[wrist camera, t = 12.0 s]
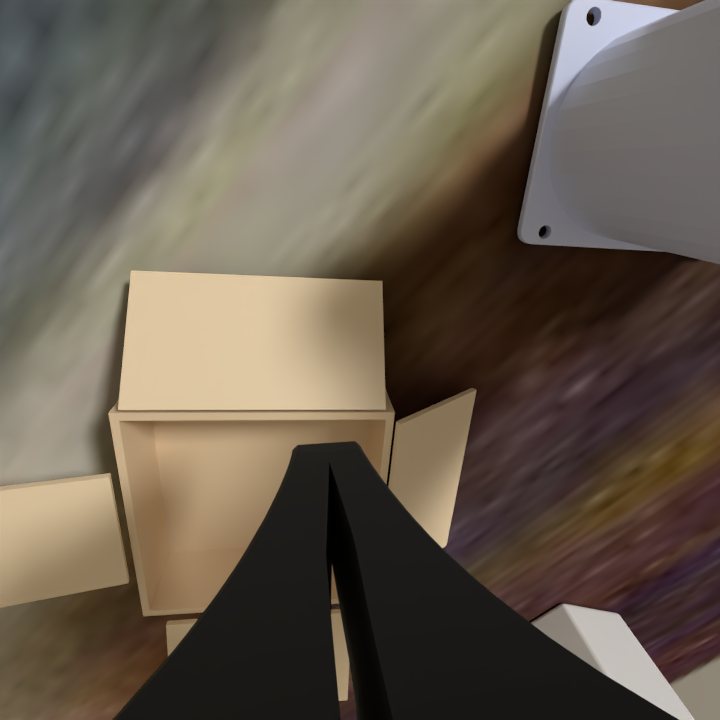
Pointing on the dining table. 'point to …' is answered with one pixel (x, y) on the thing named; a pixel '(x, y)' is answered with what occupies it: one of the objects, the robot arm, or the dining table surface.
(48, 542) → the flap
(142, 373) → the flap
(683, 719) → the jar
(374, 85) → the dining table surface
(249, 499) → the carton
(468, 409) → the flap
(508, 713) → the robot arm
